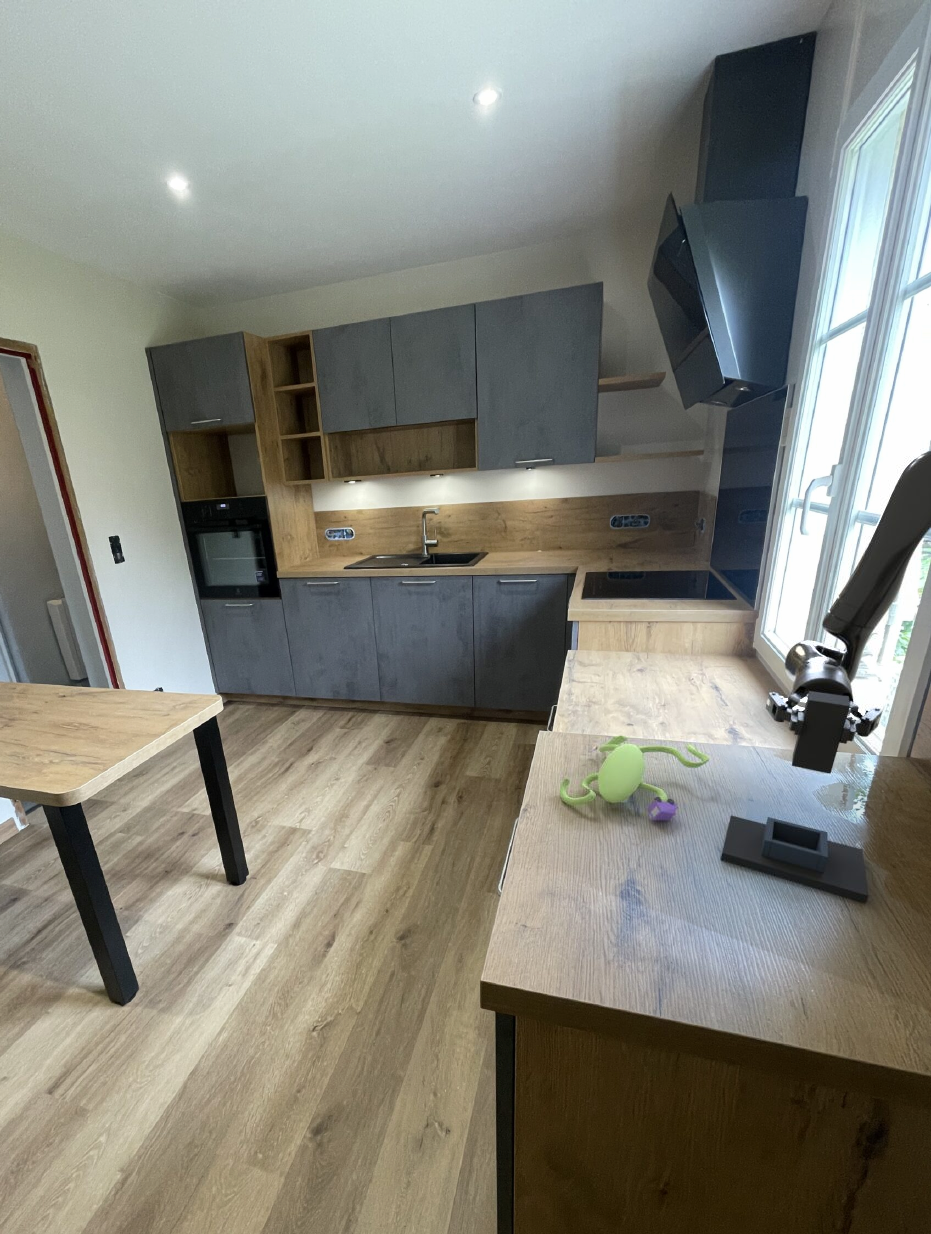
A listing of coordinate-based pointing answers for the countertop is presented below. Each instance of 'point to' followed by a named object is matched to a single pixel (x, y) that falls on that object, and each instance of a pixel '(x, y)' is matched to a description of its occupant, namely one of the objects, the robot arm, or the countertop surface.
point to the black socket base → (796, 856)
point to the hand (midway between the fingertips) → (821, 732)
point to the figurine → (630, 776)
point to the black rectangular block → (820, 731)
